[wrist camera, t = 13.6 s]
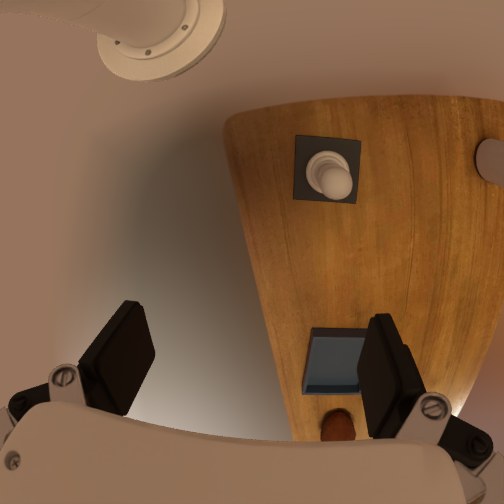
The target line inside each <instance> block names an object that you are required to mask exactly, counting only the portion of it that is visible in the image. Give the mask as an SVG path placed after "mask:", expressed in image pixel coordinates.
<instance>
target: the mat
mask: <svg viewBox="0 0 504 504" xmlns="http://www.w3.org/2000/svg"><path fill="white" fill-rule="evenodd" d="M322 151H333V152H336V153H338V154H340V155H341V156H342V157H343V158H344V159H345V160H346V162H347V164H348V166H349V174H350V175H351V178H352V190H351V192H350V194H349V195H348V196H347V197H345V198H343V199H339V200H334V199H330V198H328V197H326V196H325V195H324V194H323V193H320V192H318V191H316V190H314V189H313V188H312V187H311V185H310V184H309V182H308V180H307V177H306V167H307V164H308V162H309V160H310V159H311V158H312V157H313V156H314V155H315V154H317V153H319V152H322ZM360 152H361V141H357V140H348V139H339V138H328V137H316V136H301V135H296V149H295V175H294V196H293V199H296V200H312V201H327V202H340V203H352V204H356V198H357V189H358V178H359V166H360Z"/></svg>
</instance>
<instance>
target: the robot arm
mask: <svg viewBox="0 0 504 504" xmlns="http://www.w3.org/2000/svg"><path fill="white" fill-rule="evenodd" d="M10 12H11V13H25V14H33V15H38V16H42V17H47V18H50V19H55V20H58V21H62V22H65V23H68V24H72V25H75V26H78V27H81V28H84V29H87V30H90V31H93V32H96V33H99V34H101V35H104V36H107V37H109V38H111V41H112V43H113V45H114V47H115V48H116V50H117V51H118V52H119V53H121V54H122V55H124V56H126V57H129V58H132V59H136V60H150V59H155V58H158V57H161V56H163V55H165V54H168V53H170V52H171V51H173V50H174V49H176V48H177V47H179V46H180V45H181V44H182V43H183V42H184V41H185V40H186V39H187V38H188V37H189V36H190V34H191V33H192V31H193V30H194V28H195V26H196V24H197V22H198V19H199V15H200V2H199V0H0V13H10ZM187 28H188V29H187ZM186 29H187V30H186ZM150 53H151V54H150ZM154 358H155V349H154V346H153V343H152V339H151V335H150V332H149V328H148V324H147V320H146V316H145V312H144V308H143V306H141V305H140V303H139V302H137V301H128V300H126V301H124V302H123V304H122V305H121V306H120V307H119V309H118V310H117V311H116V312H115V314H114V315H113V316H112V317H111V319H110V320H109V321H108V323H107V324H106V325H105V327H104V328H103V329H102V330H101V332H100V333H99V334H98V336H97V337H96V338H95V340H94V341H93V342H92V343H91V345H90V346H89V348H88V349H87V350H86V352H85V353H84V354H83V356H82V357H81V358H80V360H79V361H78V362H79V364H78V366H77V367H76V366H75V365H72V364H62V365H59V366H57V367H56V368H54V369H53V371H52V372H51V373H50V375H49V379H48V381H49V382H48V383H45V384H42V385H39V386H36V387H33V388H30V389H27V390H24V391H21V392H18V393H16V394H15V395H14V396H13V397H12V398H11V399H10V401H9V404H8V408H7V409H6V408H5V407H3V408H1V409H0V504H504V456H502V455H501V453H500V452H499V451H498V452H497V453H495V452H494V451H493V442H492V439H491V437H490V436H489V435H488V434H487V433H485V432H484V431H482V430H480V429H478V428H476V427H474V426H472V425H470V424H469V423H467V422H465V421H463V420H461V419H459V418H457V417H455V416H453V415H452V414H451V411H452V407H451V404H450V402H449V400H448V399H447V398H446V397H445V396H444V395H442V394H440V393H437V392H426V389H425V387H424V384H423V381H422V379H421V376H420V374H419V371H418V369H417V366H416V364H415V361H414V359H413V356H412V354H411V352H410V349H409V347H408V346H407V345H406V344H403V342H402V340H401V337H400V335H399V333H398V330H397V328H396V326H395V324H394V321H393V319H392V317H391V315H390V314H389V313H385V314H376V315H375V316H374V317H371V319H370V322H369V325H368V329H367V333H366V337H365V340H364V344H363V347H362V351H361V354H360V357H359V361H358V364H357V375H358V380H359V384H360V390H361V395H362V400H363V405H364V411H365V416H366V422H367V428H368V434H369V437H373V439H368V440H353V441H326V442H288V441H267V440H253V439H241V438H231V437H223V436H215V435H208V434H202V433H196V432H190V431H184V430H179V429H174V428H168V427H164V426H159V425H155V424H150V423H146V422H142V421H138V420H134V419H131V418H127V417H123V415H124V416H125V415H127V413H128V411H129V409H130V407H131V405H132V403H133V401H134V399H135V397H136V395H137V393H138V391H139V389H140V387H141V384H142V383H143V380H144V379H145V377H146V375H147V372H148V370H149V369H150V367H151V365H152V363H153V361H154Z"/></svg>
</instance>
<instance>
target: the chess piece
mask: <svg viewBox="0 0 504 504" xmlns="http://www.w3.org/2000/svg"><path fill="white" fill-rule="evenodd" d="M306 177H307V180H308V182H309V184H310V185H311V187H312V188H313V189H314V190H316V191H318V192H320V193H323V194H324V195H325V196H326V197H328V198H330V199H334V200H339V199H343V198H345V197H347V196H348V195H349V194H350V192H351V190H352V178H351V175H350V174H349V166H348V164H347V162H346V160H345V159H344V158H343V157H342V156H341V155H340V154H338V153H336V152H333V151H322V152H319V153H317V154H315V155H314V156H313V157H312V158H311V159H310V160H309V162H308V164H307V167H306Z"/></svg>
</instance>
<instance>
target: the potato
mask: <svg viewBox="0 0 504 504" xmlns="http://www.w3.org/2000/svg"><path fill="white" fill-rule="evenodd" d="M355 436H356V432H355V429H354V425H353V422H352V420H351V418H349V417H348V416H347V415H346V414H345V413H343V412H336V413H334V414H332V415H331V416H330V417H329V418H328V419H327V421H326V422H325V424H324V426H323V428H322V431H321V442H326V441H353V440H355Z"/></svg>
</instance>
